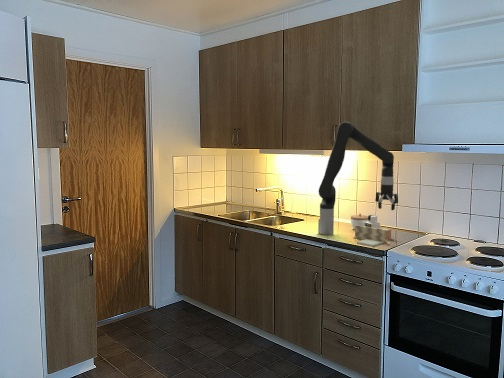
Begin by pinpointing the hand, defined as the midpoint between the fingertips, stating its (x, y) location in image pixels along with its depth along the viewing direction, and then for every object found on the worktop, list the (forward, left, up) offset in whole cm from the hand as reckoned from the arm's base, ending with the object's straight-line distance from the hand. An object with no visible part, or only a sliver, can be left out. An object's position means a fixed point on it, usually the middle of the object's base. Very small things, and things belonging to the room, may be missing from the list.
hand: (386, 209), depth 269 cm
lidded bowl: (-27, +13, -19) cm, 36 cm away
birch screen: (-5, -11, -19) cm, 22 cm away
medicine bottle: (-15, +9, -19) cm, 26 cm away
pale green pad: (0, -19, -19) cm, 27 cm away
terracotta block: (0, 0, -19) cm, 19 cm away
